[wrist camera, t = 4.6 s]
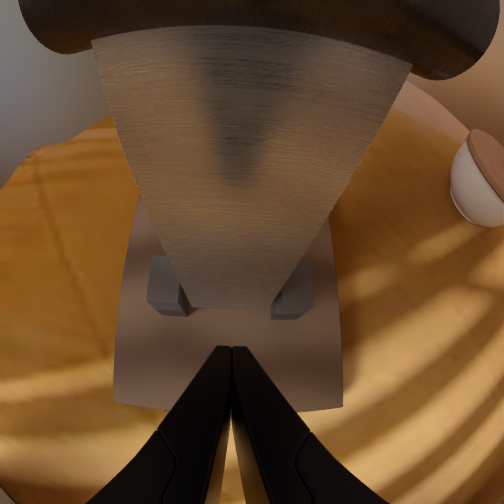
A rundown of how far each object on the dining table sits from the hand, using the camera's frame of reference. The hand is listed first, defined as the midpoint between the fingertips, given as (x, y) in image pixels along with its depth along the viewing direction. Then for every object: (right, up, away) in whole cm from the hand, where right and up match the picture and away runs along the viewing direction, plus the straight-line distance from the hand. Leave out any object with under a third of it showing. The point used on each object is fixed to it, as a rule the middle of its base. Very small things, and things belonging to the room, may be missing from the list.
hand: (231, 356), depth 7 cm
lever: (-1, +1, +8) cm, 8 cm away
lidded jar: (+27, +9, +19) cm, 34 cm away
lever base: (-1, +1, +12) cm, 12 cm away
